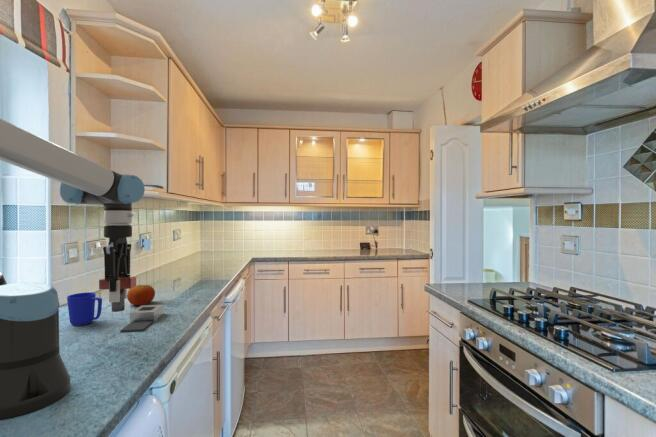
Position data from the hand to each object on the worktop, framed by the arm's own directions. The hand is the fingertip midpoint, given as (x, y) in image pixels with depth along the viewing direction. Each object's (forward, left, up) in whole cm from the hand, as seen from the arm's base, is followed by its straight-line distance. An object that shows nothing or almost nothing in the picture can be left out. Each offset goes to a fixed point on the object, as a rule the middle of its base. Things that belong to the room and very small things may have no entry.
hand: (118, 300), depth 108 cm
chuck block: (+20, -1, -12) cm, 23 cm away
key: (0, 0, -3) cm, 3 cm away
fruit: (+41, +9, -12) cm, 43 cm away
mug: (+17, +18, -12) cm, 27 cm away
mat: (+10, -2, -12) cm, 15 cm away
